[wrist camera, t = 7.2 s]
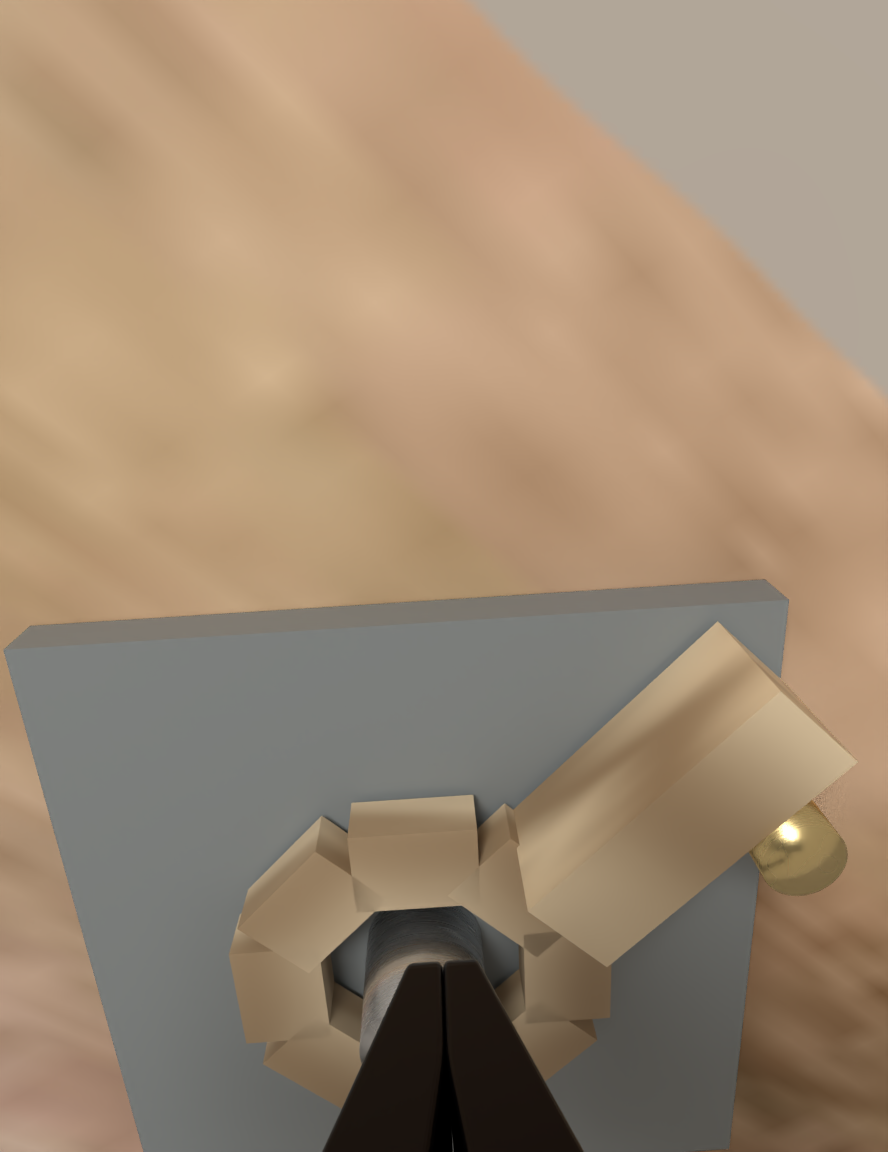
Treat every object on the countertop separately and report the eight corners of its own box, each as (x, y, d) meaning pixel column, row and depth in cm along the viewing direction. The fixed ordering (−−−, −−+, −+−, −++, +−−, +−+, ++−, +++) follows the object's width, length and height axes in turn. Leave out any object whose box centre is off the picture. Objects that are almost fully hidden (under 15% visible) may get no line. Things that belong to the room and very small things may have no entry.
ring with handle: (438, 1118, 21) (442, 1244, 18) (175, 962, 19) (132, 1080, 16) (873, 764, 18) (960, 855, 15) (612, 523, 15) (654, 577, 13)
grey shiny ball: (483, 978, 20) (494, 1092, 17) (372, 985, 20) (365, 1102, 17) (478, 890, 19) (489, 996, 16) (362, 898, 19) (353, 1006, 16)
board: (713, 1107, 24) (729, 1148, 22) (166, 1146, 23) (154, 1190, 22) (765, 579, 18) (788, 599, 16) (29, 626, 17) (3, 649, 16)
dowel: (766, 785, 18) (841, 892, 15) (697, 790, 18) (758, 898, 15) (772, 725, 17) (852, 823, 14) (702, 730, 17) (765, 829, 14)
